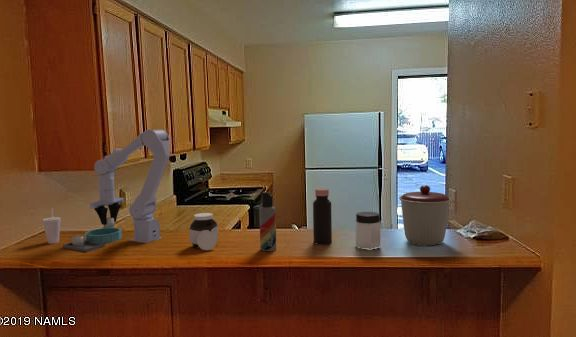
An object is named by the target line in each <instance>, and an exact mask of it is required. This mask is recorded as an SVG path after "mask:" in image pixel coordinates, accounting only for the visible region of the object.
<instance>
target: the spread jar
mask: <svg viewBox="0 0 576 337" xmlns="http://www.w3.org/2000/svg"><path fill="white" fill-rule="evenodd" d="M213 215H214V214H213V213H210V212H200V213H195V214H193V221H192V222H191V223H190V226H189V241H190V244H191V245H192V246H194V247H195V248H197V247H200V248H199V249H201V250H203V251H211V250H212V249H214V248H215V247H216V245H217V242H218V239H219V226H218V223H217V222H216V220H215V219H214V216H213Z"/></svg>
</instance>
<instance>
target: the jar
mask: <svg viewBox="0 0 576 337" xmlns="http://www.w3.org/2000/svg"><path fill="white" fill-rule="evenodd" d="M355 217H356V218H355V246H356V245H357V246H358V247H360V248H369V249H371V248H375V247H379V246H380V247H381V222H380V219H381V218H380V217H381V216H380V213H378V212H376V211H375V212H374V211H359V212H357V213H355ZM357 246H356V247H357Z"/></svg>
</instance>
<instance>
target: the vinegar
mask: <svg viewBox="0 0 576 337" xmlns="http://www.w3.org/2000/svg"><path fill="white" fill-rule="evenodd" d="M329 191H330V189H328V188H316V189H315V190H314V192H315V197H316V199H314V201H313V203H312V206H313V207H312V216H313V217H312V221H313V222H312V224H313V227H312V228H313V243H314V244H315V243H317V244H316V245H319V244H327V245H330V244H332V241H333V240H332V239H333V236H332V235H333V234H332V232H333V230H332V227H333V226H332V201H331V200H330V199H328V198H329V194H330V192H329ZM329 243H330V244H329Z"/></svg>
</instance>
